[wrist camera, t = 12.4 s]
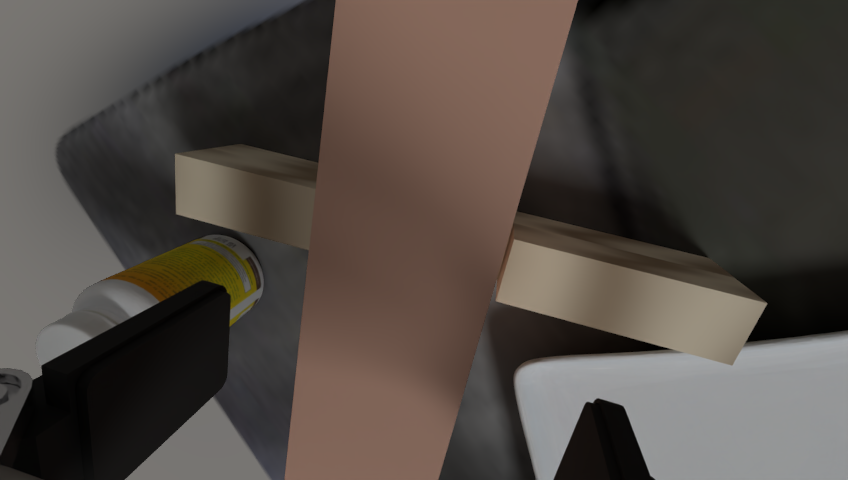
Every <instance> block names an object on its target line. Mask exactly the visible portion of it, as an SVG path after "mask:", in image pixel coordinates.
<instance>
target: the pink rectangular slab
mask: <svg viewBox="0 0 848 480" xmlns="http://www.w3.org/2000/svg"><path fill="white" fill-rule="evenodd" d="M577 2H578V0H336V3H335V13H334V22H333V31H332V41H331V50H330V59H329V69H328V78H327V87H326V97H325V106H324V115H323V125H322V134H321V143H320V153H319V162H318V171H317V181H316V190H315V199H314V209H313V218H312V227H311V237H310V246H309V255H308V265H307V274H306V283H305V293H304V302H303V311H302V321H301V330H300V339H299V349H298V358H297V367H296V377H295V386H294V395H293V405H292V414H291V423H290V433H289V442H288V452H287V461H286V470H285V480H438V479H439V475H440V472H441V469H442V465H443V462H444V458H445V455H446V451H447V448H448V445H449V441H450V438H451V434H452V431H453V427H454V424H455V421H456V417H457V414H458V410H459V407H460V403H461V400H462V397H463V393H464V390H465V386H466V383H467V379H468V376H469V372H470V369H471V366H472V362H473V359H474V355H475V352H476V348H477V345H478V342H479V338H480V335H481V331H482V328H483V324H484V321H485V318H486V314H487V311H488V307H489V304H490V300H491V297H492V294H493V290H494V287H495V283H496V280H497V276H498V273H499V270H500V266H501V263H502V259H503V256H504V252H505V249H506V246H507V242H508V239H509V235H510V232H511V228H512V225H513V221H514V218H515V215H516V211H517V208H518V204H519V201H520V197H521V194H522V191H523V187H524V184H525V180H526V177H527V173H528V170H529V167H530V163H531V160H532V156H533V153H534V149H535V146H536V143H537V139H538V136H539V132H540V129H541V125H542V122H543V119H544V115H545V112H546V108H547V105H548V101H549V98H550V95H551V91H552V88H553V84H554V81H555V77H556V74H557V70H558V67H559V64H560V60H561V57H562V53H563V50H564V46H565V43H566V40H567V36H568V33H569V29H570V26H571V22H572V19H573V16H574V12H575V9H576V5H577Z"/></svg>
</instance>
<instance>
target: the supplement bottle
mask: <svg viewBox="0 0 848 480" xmlns="http://www.w3.org/2000/svg"><path fill="white" fill-rule="evenodd" d="M201 280H206V281H209V282H212V283H216V284H219V285H222V286H224V287H225V288H226V290H227V293H229V294H230V296H231V307H230V326H231V325H232V324H234V323H235V322H236V321H237V320H239V319H240V318H241V317H242V316H243V315H245V314H246V313H247V312H248V311H250V310H251V309H252V308H253V307H254V306H255V305H256V304H257V303H258V301H259V299H260V297H261V295H262V292H263V288H264V277H263V272H262V269H261V266H260V264H259V262H258V260H257V258H256V257H255V255H254V254H253V253H252V252H251V251H250V250H249V249H248V248H247V247H246V246H245V245H244V244H242V243H241V242H239V241H238V240H236V239H234V238H231V237H228V236H224V235H207V236H204V237H201V238H198V239H195V240H193V241H191V242H189V243H186V244H184V245H182V246H180V247H177V248H175V249H173V250H170V251H168V252H166V253H163V254H161V255H159V256H156V257H154V258H152V259H150V260H147V261H145V262H143V263H141V264H138V265H136V266H134V267H132V268H129V269H127V270H125V271H122V272H120V273H118V274H115V275H113V276H110V277H108V278H106V279H104V280H101V281H99V282H97V283H95V284H93V285H91V286H89V287H88V288H86V289H85V290H84V291H83V292H82V293H81V294H80V295H79V296H78V298H77V299H76V301H75V303H74V306H73V310H72V313H70V314H68V315H66V316H65V317H64V318H62V319H60V320H58V321H56V322H54V323H52V324H49V325H48V326H46V327H45V328H43V330H41V332H40V333H39V335H38V337H37V340H36V354H37V359H38V361H39V364H40V366H41V365H43V364H45V363H47V362H49V361H50V360H52V359H54V358H56V357H58V356H60V355H62V354H64V353H65V352H67V351H69V350H71V349H73V348H75V347H77V346H79V345H80V344H82V343H84V342H86V341H88V340H90V339H92V338H94V337H96V336H97V335H99V334H101V333H103V332H105V331H107V330H109V329H111V328H112V327H114V326H116V325H118V324H120V323H122V322H124V321H126V320H127V319H129V318H131V317H133V316H135V315H137V314H139V313H141V312H142V311H144V310H146V309H148V308H150V307H152V306H154V305H156V304H157V303H159V302H161V301H163V300H165V299H167V298H169V297H171V296H172V295H174V294H176V293H178V292H180V291H182V290H184V289H186V288H187V287H189V286H191V285H193V284H195V283H197V282H199V281H201Z"/></svg>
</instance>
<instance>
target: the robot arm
mask: <svg viewBox="0 0 848 480" xmlns="http://www.w3.org/2000/svg"><path fill="white" fill-rule="evenodd" d="M230 307H231V296H230V294H229V293H227V290H226V288H225V287H224V286H222V285H219V284H216V283H212V282H209V281H206V280H201V281H199V282H197V283H195V284H193V285H191V286H189V287H187V288H186V289H184V290H182V291H180V292H178V293H176V294H174V295H172V296H171V297H169V298H167V299H165V300H163V301H161V302H159V303H157V304H156V305H154V306H152V307H150V308H148V309H146V310H144V311H142V312H141V313H139V314H137V315H135V316H133V317H131V318H129V319H127V320H126V321H124V322H122V323H120V324H118V325H116V326H114V327H112V328H111V329H109V330H107V331H105V332H103V333H101V334H99V335H97V336H96V337H94V338H92V339H90V340H88V341H86V342H84V343H82V344H80V345H79V346H77V347H75V348H73V349H71V350H69V351H67V352H65V353H64V354H62V355H60V356H58V357H56V358H54V359H52V360H50V361H49V362H47V363H45V364H43V365H41V368H42V376H40V377H38V378H36V379H34V380H32V378H31V376H30V375H29V374H28V373H26V372H23V371H22V370H16V369H10V368H3V369H0V480H125V479H126V478H127V477H128V476H129V475H130V474H131V473H132V472H133V471H134V470H135V469H136V468H137V467H138V466H139V465H140V464H142V463H143V462H144V461H145V460H146V459H147V458H148V457H149V456H150V455H151V454H152V453H153V452H154V451H155V450H157V449H158V448H159V447H160V446H161V445H162V444H163V443H164V442H165V441H166V440H167V439H168V438H169V437H170V436H171V435H172V434H173V433H175V432H176V431H177V430H178V429H179V428H180V427H181V426H182V425H183V424H184V423H185V422H186V421H187V420H188V419H189V418H191V417H192V416H193V415H194V414H195V413H196V412H197V411H198V410H199V409H200V408H201V407H202V406H203V405H204V404H205V403H206V402H207V401H209V400H210V398H212V397H213V396H214V395H215V394H216V393H217V392H218V391H219V390H220V389H221V388H222V387H223V385H224V383H225V381H226V378H227V367H228V347H229V327H230ZM553 480H655V479H654V478H653V477H651V476H650V473H649V471H648V468H647V465H646V463H645V460H644V457H643V455H642V452H641V450H640V447H639V444H638V442H637V439H636V436H635V434H634V431H633V429H632V426H631V423H630V421H629V418H628V415H627V413H626V410H625V408H624V406H622V405H619V404H616V403H613V402H609V401H606V400H603V399H599V398H597V399H595V400H594V402H593V403H591V402H586V403H585V405H584V407H583V409H582V412H581V414H580V417H579V419H578V421H577V424H576V426H575V429H574V431H573V433H572V436H571V438H570V441H569V443H568V445H567V448H566V450H565V453H564V455H563V458H562V460H561V462H560V465H559V467H558V470H557V472H556V474H555V477H554V479H553Z"/></svg>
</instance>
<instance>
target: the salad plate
mask: <svg viewBox="0 0 848 480" xmlns="http://www.w3.org/2000/svg"><path fill="white" fill-rule="evenodd" d="M513 382H514V391H515V397H516V401H517V406H518V411H519V415H520V419H521V423H522V427H523V431H524V435H525V439H526V443H527V446H528V450H529V454H530V458H531V462H532V466H533V470H534V474H535V478H536V480H553V479H554V477H555V474H556V472H557V470H558V467H559V465H560V462H561V460H562V458H563V455H564V453H565V450H566V448H567V445H568V443H569V441H570V438H571V436H572V433H573V431H574V429H575V426H576V424H577V421H578V419H579V417H580V414H581V412H582V409H583V407H584V405H585V403H586V402H591V403H593V402H594V400H595V399H597V398H599V399H603V400H606V401H609V402H613V403H616V404H619V405H622V406H624V408H625V410H626V413H627V415H628V418H629V421H630V423H631V426H632V429H633V431H634V434H635V436H636V439H637V442H638V444H639V447H640V450H641V452H642V455H643V457H644V460H645V463H646V465H647V468H648V471H649V473H650V476H651V477H653V478H654V479H655V480H848V330H847V331H839V332H831V333H823V334H814V335H806V336H798V337H790V338H781V339H772V340H763V341H754V342H745V344H744V346H743V348H742V349H741V351H740V353H739V355H738V356H737V358H736V360H735V362H734V364H733V365H728V364H724V363H721V362H717V361H713V360H710V359H706V358H702V357H699V356H695V355H691V354H688V353H684V352H680V351H676V350H673V349H668V350H654V351H641V352H623V353H603V354H583V355H566V356H553V357H543V358H537V359H532V360H528V361H526V362H524V363H523V364H521V365H520V366H519V367H518V368H517V369H516V371H515V373H514V378H513Z"/></svg>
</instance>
